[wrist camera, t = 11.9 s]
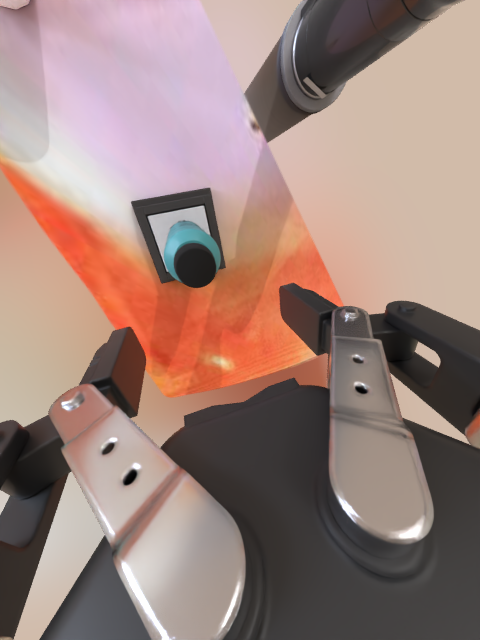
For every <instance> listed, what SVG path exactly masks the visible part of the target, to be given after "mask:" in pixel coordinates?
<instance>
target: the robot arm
mask: <svg viewBox="0 0 480 640" xmlns="http://www.w3.org/2000/svg"><path fill="white" fill-rule="evenodd" d="M462 1H464V0H307V1H306V3H305V5H304V6H303V8H302V9H301V20H300V23H299V25H298V27H297V29H296V32H295V35H294V39H293V44H292V52H291V62H292V70H293V75H294V78H295V81H296V83H297V85H298V87H299V89H300V90H301V92H302V93H303V94H304V95H305V96H307V97H308V98H311V99H315V100H317V99H323V98H324V97H326V96H328V95H329V94H331V93H332V92H333V91H334V90H336V89H337V88H338V87H339V86H341V85H342V84H344V83H345V82H346V81H348V80H349V79H351V78H352V77H353V76H355V75H356V74H358V73H359V72H360V71H362V70H363V69H365V68H366V67H368V66H369V65H370V64H372V63H373V62H374V61H376V60H377V59H379V58H380V57H381V56H383V55H384V54H386V53H387V52H389V51H390V50H392V49H393V48H394V47H396V46H397V45H399V44H400V43H402V42H403V41H404V40H406V39H407V38H408V37H410V36H411V35H413V34H414V33H416V32H417V31H418V30H420V29H421V28H423V27H424V26H425V25H427V24H428V23H430V22H431V21H432V20H434V19H435V18H437V17H438V16H439V15H441V14H442V13H444V12H445V11H446V10H448V9H449V8H451V7H452V6H453V5H456V4H458V3H460V2H462ZM279 294H280V310H281V316H282V318H283V320H284V322H285V323H286V324H287V325H288V326H289V327H290V328H291V329H292V330H293V331H294V332H295V333H296V334H297V335H298V336H299V337H300V338H301V339H302V340H303V341H304V342H305V343H306V345H307V346H308V347H309V348H310V349H311V350H312V351H313V352H314V353H315V354H316V355H317V356H318V355H321V354H324V353H327V354H328V369H327V388H325V387H320V386H314V385H299V384H298V383H297V381H296V380H295V378H292V379H289V380H286V381H283V382H280V383H277V384H275V385H271V386H269V387H267V388H265V389H264V390H263V391H261V392H259V393H258V394H256V395H254V396H253V397H251V398H250V399H248V400H246V401H245V402H241V403H233V404H225V405H216V406H211V407H209V408H205V409H203V410H200V411H197V412H194V413H191V414H188V415H185V416H184V421H185V426H184V427H182V428H181V429H180V430H179V431H177V432H176V433H174V434H173V435H172V436H171V437H170V438H169V439H168V440H167V441H166V442H165V443H164V444H163V445H162V446H161V448H159V447H158V446H157V445H156V444H155V443H154V442H153V441H152V440H151V439H150V438H149V437H148V436H147V435H146V434H145V433H144V432H143V431H142V430H141V429H140V428H139V427H138V426H137V425H136V424H135V423H134V422H133V421H132V420H131V419H130V418H132V417H135V416H137V414H138V408H139V402H140V395H141V390H142V384H143V378H144V372H145V366H146V356H145V353H144V350H143V348H142V346H141V344H140V343H139V341H138V339H137V337H136V335H135V333H134V331H133V329H132V328H131V327H126V328H122V329H119V330H115V331H113V332H112V334H111V336H110V338H109V340H108V342H107V343H105V344H103V345H102V346H101V347H100V348H99V349H98V350H97V351H96V353H95V355H94V357H93V360H92V361H91V363H90V366H89V367H88V369H87V371H86V372H85V374H84V376H83V378H82V380H81V382H80V384H79V386H77V387H74V388H72V389H70V390H68V391H67V392H65V393H64V394H62V395H61V396H60V397H59V398H58V399H57V400H56V401H55V402H54V403H53V404H52V405H51V407H50V409H49V413H48V414H49V415H47V416H45V417H43V418H41V419H39V420H37V421H35V422H34V423H32V424H30V425H28V426H26V427H22V426H21V425H20V424H19V423H18V422H16V421H14V420H9V421H5V422H2V423H0V490H1V491H3V492H5V493H7V494H9V495H10V497H9V499H8V501H7V503H6V505H5V507H4V509H3V511H2V513H1V515H0V640H13V639H14V636H15V633H16V630H17V627H18V624H19V621H20V618H21V615H22V612H23V609H24V606H25V603H26V600H27V597H28V594H29V591H30V588H31V585H32V582H33V579H34V576H35V573H36V570H37V567H38V564H39V561H40V558H41V555H42V552H43V549H44V546H45V543H46V539H47V537H48V534H49V531H50V528H51V524H52V522H53V519H54V516H55V513H56V510H57V507H58V504H59V501H60V498H61V495H62V492H63V489H64V486H65V483H66V480H67V477H68V474H69V473H70V472H71V471H72V472H73V474H74V476H75V478H76V480H77V482H78V484H79V486H80V488H81V489H82V492H83V493H84V495H85V497H86V499H87V501H88V503H89V505H90V507H91V508H92V511H93V512H94V514H95V516H96V518H97V520H98V522H99V524H100V526H101V528H102V529H103V532H104V533H105V536H104V537H103V539H102V540H101V542H100V543H99V545H98V547H97V548H96V550H95V551H94V553H93V555H92V556H91V558H90V560H89V561H88V563H87V564H86V566H85V568H84V569H83V571H82V572H81V574H80V576H79V577H78V579H77V580H76V582H75V584H74V585H73V587H72V588H71V590H70V592H69V594H68V595H67V596H66V598H65V599H64V601H63V603H62V604H61V606H60V607H59V609H58V611H57V612H56V614H55V615H54V617H53V619H52V620H51V622H50V624H49V625H48V627H47V628H46V630H45V631H44V633H43V635H42V636H41V638H40V640H480V330H478V329H475V328H473V327H470V326H468V325H466V324H464V323H462V322H459V321H457V320H455V319H453V318H450V317H448V316H446V315H443V314H441V313H439V312H437V311H434V310H432V309H430V308H428V307H425V306H423V305H421V304H418V303H414V302H409V301H394V302H391V303H389V304H388V305H387V306H386V310H385V313H383V314H372V315H368V313H367V312H366V311H365V310H363V309H361V308H357V307H352V306H343V307H338V306H336V305H335V304H333V303H332V302H330V301H328V300H327V299H324V298H323V297H322V296H319V294H317V293H315V292H314V291H311V290H307V289H303V288H301V287H300V286H298V285H296V284H295V283H291V284H287V285H284V286H281V287H280V289H279ZM418 341H419V342H420V343H422V344H424V345H426V346H427V347H429V348H430V349H432V350H434V351H435V352H436V353H437V354H438V356H439V357H440V360H441V363H440V366H439V368H438V367H437V366H435V365H434V364H432V363H431V362H429V361H427V360H426V359H424V358H423V357H422V356H420V355H418V354H417V353H416V352H415V349H416V346H417V343H418ZM390 373H391V374H392V375H394V376H395V377H396V378H397V379H398V380H400V381H401V382H402V383H403V384H404V385H405V386H407V387H408V388H409V389H410V390H412V391H413V392H414V393H415V394H416V395H417V396H419V397H420V398H421V399H422V400H423V401H424V402H426V403H427V404H428V405H429V406H430V407H432V408H433V409H434V410H435V411H436V412H437V413H439V414H440V415H441V416H442V417H443V418H445V419H446V420H447V421H448V422H449V423H451V424H452V425H453V426H454V427H455V428H457V429H458V430H459V431H460V432H461V433H462V434H464V435H465V436H466V438H467V440H468V442H469V443H470V445H469V444H467V443H464V442H462V441H459V440H457V439H454V438H452V437H449V436H447V435H444V434H442V433H439V432H437V431H434V430H431V429H429V428H427V427H424V426H422V425H419V424H417V423H414V422H412V421H409V420H407V419H404V418H402V416H401V412H400V409H399V405H398V401H397V397H396V394H395V390H394V386H393V382H392V379H391V376H390Z"/></svg>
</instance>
